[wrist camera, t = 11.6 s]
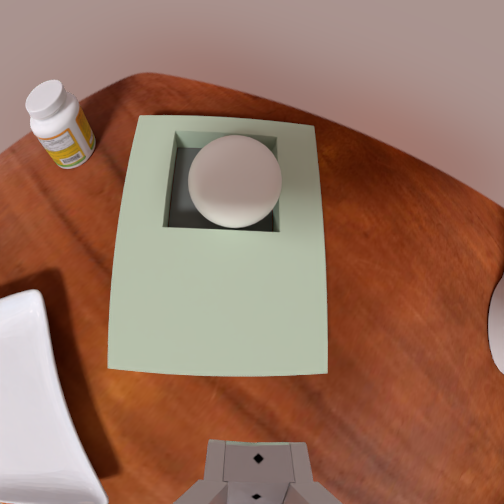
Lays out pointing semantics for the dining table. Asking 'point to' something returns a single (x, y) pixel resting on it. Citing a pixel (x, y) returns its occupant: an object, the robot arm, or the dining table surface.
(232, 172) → the ball
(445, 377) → the dining table surface
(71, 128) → the supplement bottle
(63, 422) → the salad plate
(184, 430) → the dining table surface
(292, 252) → the putting deck
